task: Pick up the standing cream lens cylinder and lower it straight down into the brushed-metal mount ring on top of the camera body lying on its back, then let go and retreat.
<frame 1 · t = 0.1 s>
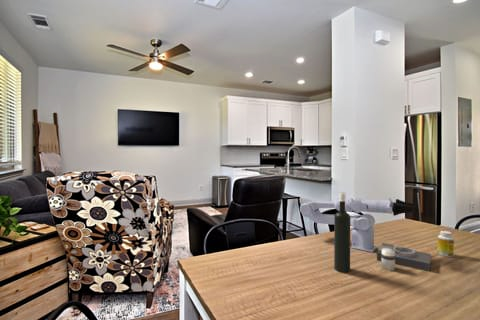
hand: (414, 207, 112), 22 cm above the table, tool horizontal, fingers open, 7 cm apart
wine bottle: (342, 269, 102), on the table
supplement bottle: (445, 255, 115), on the table
camera body: (403, 260, 110), on the table
lens: (388, 268, 103), on the table
mount ring: (403, 251, 110), point 3 cm above the table
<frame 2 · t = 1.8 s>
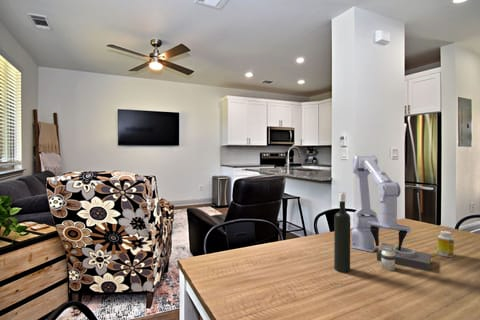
hand: (388, 247, 102), 8 cm above the table, tool pointing down, fingers open, 7 cm apart
nothing on the table moved.
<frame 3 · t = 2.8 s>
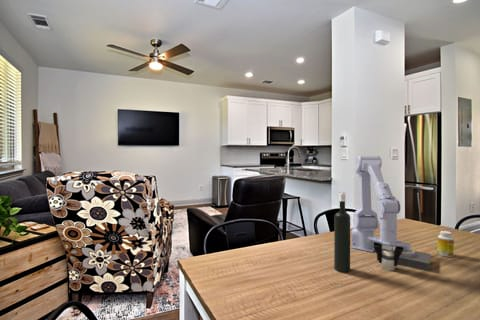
hand: (388, 263, 103), 2 cm above the table, tool pointing down, fingers closed on lens, 5 cm apart
lens: (388, 268, 103), on the table, touching gripper
everything else where it was.
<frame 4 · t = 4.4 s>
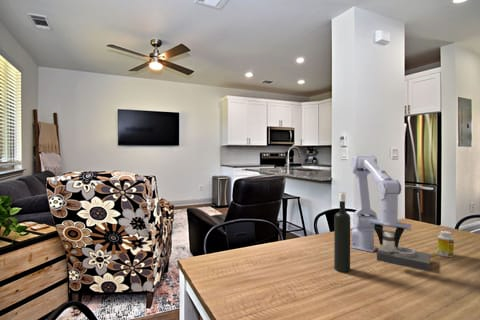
hand: (388, 245, 103), 9 cm above the table, tool pointing down, fingers closed on lens, 5 cm apart
lens: (389, 249, 103), point 7 cm above the table, touching gripper
everything else where it was.
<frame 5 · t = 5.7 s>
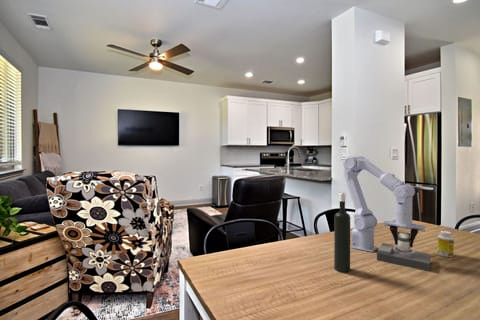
hand: (403, 245, 110), 6 cm above the table, tool pointing down, fingers closed on lens, 5 cm apart
lens: (403, 249, 109), point 5 cm above the table, touching gripper
everything else where it was.
when the fingers open (6 cm above the table, at t = 6.3 s): lens stays where it is, resting on camera body.
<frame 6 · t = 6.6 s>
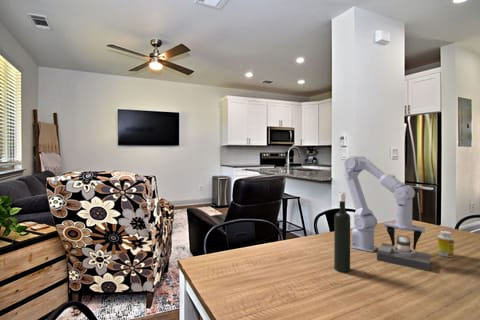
hand: (403, 247, 110), 6 cm above the table, tool pointing down, fingers open, 7 cm apart
lens: (403, 253, 110), point 3 cm above the table, touching camera body
everything else where it was.
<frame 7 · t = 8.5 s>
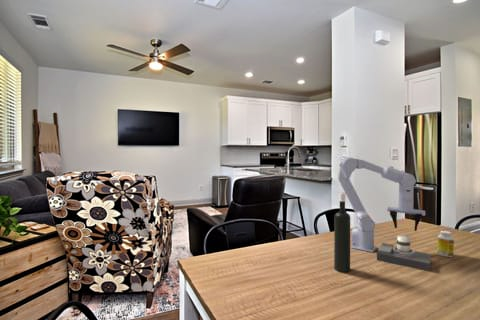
hand: (405, 229, 120), 10 cm above the table, tool pointing down, fingers open, 7 cm apart
nothing on the table moved.
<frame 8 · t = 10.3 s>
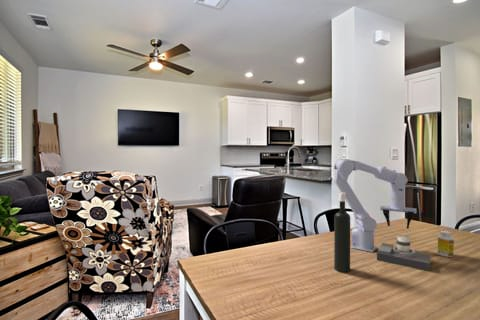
hand: (398, 226, 123), 10 cm above the table, tool pointing down, fingers open, 7 cm apart
nothing on the table moved.
at the end: lens 0.2 cm off-centre on the camera body, point 3.0 cm above the camera body's base; lens tilted 0°; the gripper is holding nothing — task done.
